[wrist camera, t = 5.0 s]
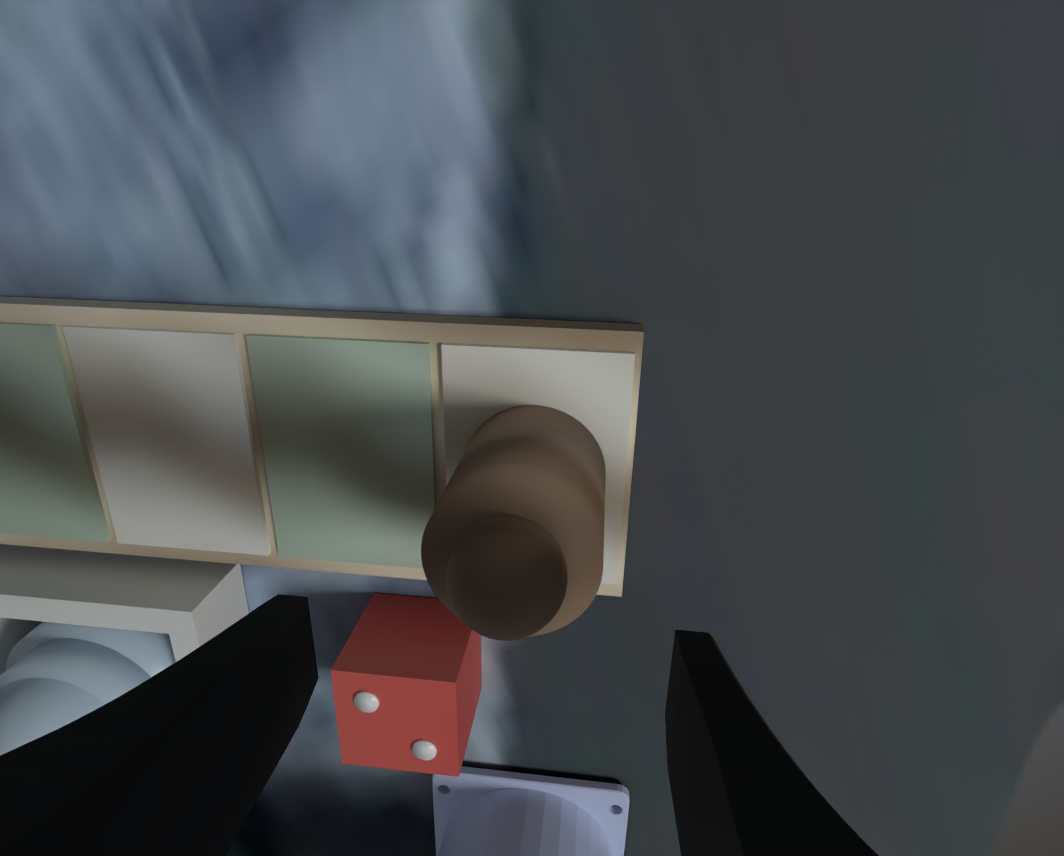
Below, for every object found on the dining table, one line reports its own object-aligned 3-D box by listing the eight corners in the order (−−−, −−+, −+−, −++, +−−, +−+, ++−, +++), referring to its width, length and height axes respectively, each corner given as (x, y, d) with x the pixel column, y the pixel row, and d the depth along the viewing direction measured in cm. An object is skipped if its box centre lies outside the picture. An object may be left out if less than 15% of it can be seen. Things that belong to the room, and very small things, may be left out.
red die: (481, 687, 25) (458, 779, 21) (381, 677, 26) (341, 766, 22) (480, 602, 24) (454, 684, 20) (373, 592, 24) (329, 672, 20)
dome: (229, 740, 27) (142, 870, 22) (73, 722, 28) (-46, 845, 23) (199, 600, 24) (93, 712, 19) (28, 585, 25) (-117, 688, 20)
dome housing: (274, 755, 28) (236, 820, 25) (63, 731, 29) (5, 790, 26) (239, 561, 24) (191, 612, 22) (0, 541, 25) (-76, 587, 23)
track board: (621, 579, 23) (621, 600, 22) (-8, 527, 25) (-36, 544, 24) (642, 323, 19) (644, 333, 18) (-87, 292, 22) (-124, 299, 21)
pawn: (601, 538, 21) (596, 706, 14) (465, 528, 21) (401, 686, 15) (609, 408, 19) (608, 532, 13) (462, 400, 20) (389, 516, 13)
